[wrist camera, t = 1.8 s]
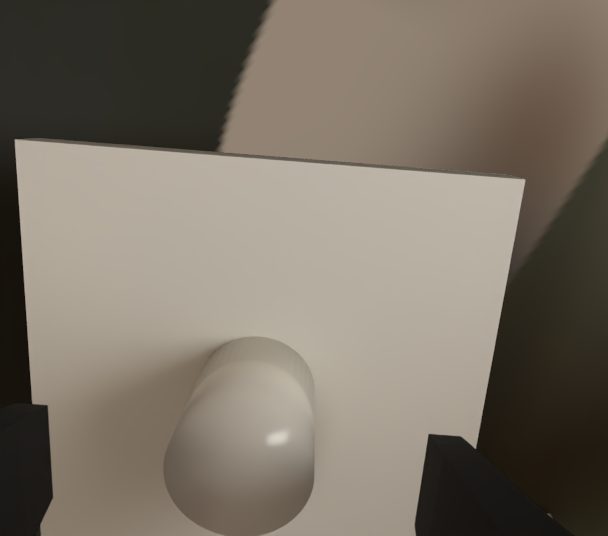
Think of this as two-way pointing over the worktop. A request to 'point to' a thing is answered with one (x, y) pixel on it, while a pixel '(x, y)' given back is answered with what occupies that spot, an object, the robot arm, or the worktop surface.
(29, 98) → the worktop surface
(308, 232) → the lid
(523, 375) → the worktop surface
